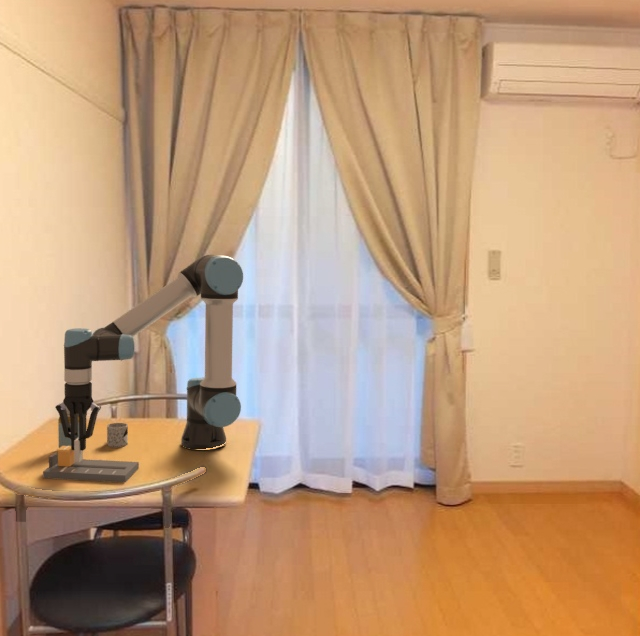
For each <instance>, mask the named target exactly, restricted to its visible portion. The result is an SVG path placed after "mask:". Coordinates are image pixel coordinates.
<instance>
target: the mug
mask: <svg viewBox="0 0 640 636" xmlns="http://www.w3.org/2000/svg"><path fill="white" fill-rule="evenodd" d="M128 430H129V426H128V423H126V422H112V423H109V424H107V425H106V446H107V447H109V448H123V447H126V446H128V445H129V443H128V440H129V435H128V434H129V433H128V432H129V431H128Z"/></svg>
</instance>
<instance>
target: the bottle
mask: <svg viewBox="0 0 640 636" xmlns="http://www.w3.org/2000/svg"><path fill="white" fill-rule="evenodd" d="M66 412H67V415H68V419H69V423H70V411H69V410H68V409H67V407H66ZM57 423H58V424H57V425H58V426H57V427H58V431H57V432H58V449H59V448H60V447H62V446H71V439H70V438H68V437H65V436H64V432H63V428H62V424H61V420H60V416H59V417H58V422H57ZM78 435H79V417H78ZM77 438H79V436H78V437H77Z"/></svg>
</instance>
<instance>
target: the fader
mask: <svg viewBox="0 0 640 636" xmlns="http://www.w3.org/2000/svg"><path fill="white" fill-rule="evenodd" d="M56 451H57V452H56V453H58V466H68V467H70V466H71V465H72V464H74V463H75V462H74V450H72V449H71V446H62V447H60V448H59V447H58V448H57V449H56Z"/></svg>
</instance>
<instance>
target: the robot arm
mask: <svg viewBox="0 0 640 636" xmlns="http://www.w3.org/2000/svg"><path fill="white" fill-rule="evenodd" d="M243 281H244V272H243V269H242V267H241V265H240V263H239V262H237V261H236V260H235V259H234V258H232V257H230V256H228V255H223V254H222V255H217V254H207V255H206V254H205V255H202V256H201V257H199V258H197V259H196V260H195V261H193V262H192V263H191V264H189V265H188V266H187V267H185V268H183V269H182V270H181V271H180V272H178V274H177V277H176V278H175V279H173V280H172V281H171V282H169V283H168V284H166V285H165V286H163V287H162V288H160V289H159V290H157V291H156V292H155V293H153V294H151V295H150V296H149V297H147V298H145V299H144V300H142V301H141V302H140V303H138V304H136V305H135V306H134V307H132V308H131V309H129V310H128V311H126V312H125V313H124V314H122V315H120V316H119V317H117V318H116V319H115V320H114V321H112V322H111V323H109V324H108V325H106V326H104V327H100V328H97V329H95V330H94V331H93V332H92V330H91V329H90V328H70V329H67V330H66V331H65V332H64V344H63V355H64V357H63V358H64V361H63V363H64V371H63V373H64V374H63V375H64V376H63V377H64V382H65V383H64V398H63V401H62V402H61V403H59V404H57V405H55V410H56V411H57V412H58V415H59V417H60V420H61V424H62V428H63V432H64V436H65V437H68V438H70V439H71V449H72V450H74V462H80V461H82V460H83V459H84V451H85V450H86V449H87V439H89V438H91V437H92V436H93V435H94V429H95V426H96V422H97V417H98V413H99V412H100V410H101V409H102V406H101V405H100V404H98V405H97V404H96V403H95V402H94V400H93V382H91V381H92V380H93V375H92V374H93V371H92V368H93V367H92V365H93V362H99V361H103V362H104V361H120V362H121V361H126V360H131V359H132V358H133V357H134V355H135V339H134V337H135V336H137V335H138V334H140V333H141V332H142V331H143V330H144V331H145V329H147V328H148V327H150V326H151V325H152V324H154V323H156V321H158V320H159V319H161V318H162V317H164V316H165V315H167V314H168V313H170V312H171V311H172V310H174V309H176V308H177V307H179V305H181V304H183V303H185V302H186V301H187V300H188V299H190V298H191V297H193V298H197V297H198V296H199V295H200V299H201V301H203V303H204V304H205V313H204V314H205V319H204V320H205V321H204V322H205V323H204V327H205V329H204V330H205V332H204V333H205V334H204V337H205V338H204V377H195V378H190V379H189V380H188V381H187V385H186V386H187V387H186V424H185V427H184V429H183V431H182V432H183V433H182V435H181V439H180V444H181V446H182V447H183V446H184V447H186V448H185V449H187V448H190V449H189V450H191V449H206V448H213V447H216V446H220V445H222V444H224V443H225V442H226V443H227V436H226V435H227V434H226V433H225V430H224V428H225V427H229V426H230V425H232V424H234V422H235V421H236V420H238V418H239V416H240V414H241V411H242V409H241V408H242V404H241V401H240V399H239V397H238V396H237V382H236V381H235V379H233V327H234V326H233V324H234V323H233V322H234V319H233V318H234V317H233V315H234V310H233V309H234V304H235V302H237V300H238V299H239V289H240V288H241V287H242V284H243ZM66 407H67V409H68V410H69V411H70V423H69V419H68V415H67V412H66ZM89 409H90V411H91V413H90V416H89V420H88V423H87V415H88V411H89ZM78 417H79V435H78ZM78 436H79V438H77V437H78ZM184 447H183V448H184Z"/></svg>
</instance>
